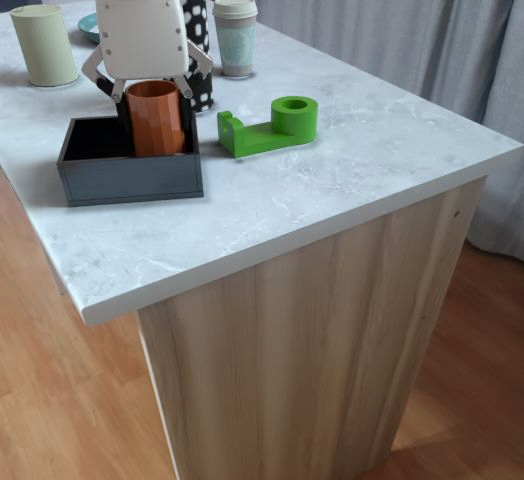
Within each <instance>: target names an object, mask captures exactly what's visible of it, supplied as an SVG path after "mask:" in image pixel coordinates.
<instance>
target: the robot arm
mask: <svg viewBox="0 0 524 480" xmlns="http://www.w3.org/2000/svg"><path fill="white" fill-rule="evenodd" d="M95 13H97V21H98V29H99V35H100V43H98V45H97V46H96V47H95V48H94V50H93V51H92V52H91V53H90V54H89V56H88V58H86V60H85V61H84V62H83V63H82V66H81V69H80V71H81V73H82V74H83V75H84V76H85V77H86V78H88V80H90V81H91V82H92V83H93V84H95V85H96V87H97V88H98V89H99V90H100V91H101V92H102V93H104V94H105V95H106V96H107V97H108V98H110V99H111V101H112V102H113V103H114V105H115V109H116V113H117V114H116V115H118V119H119V124H120V126H123V125H124V126H125V131H126V134H130V133H132V129H131V123H130V118H129V113H128V108H127V102H126V97H125V88H126V87H125V86H126V83H127V81H139V80H140V81H144V80H161V79H163V78H173V79H174V81H175V83H176V84H177V86H178V88H179V89H180V91H181V93H180V106H181V114H182V122H183V130H184V129H185V131H186V130H189V126H188V121H193V114H192V105H191V97H192V95H193V93H194V92H195V90H196V89H197V88H198V87H199V85H200V84H201V83H202V81H203V79H204V77H205V76H206V75H207V74H208V72H209V71H210V69H211V70H212V68H213V67H214V60H213V57H211V55H210V56H209V55H208V54H207V53H206V52H204V51H203V50H202V49H201V48H200V47H198V46H197V45H196V44H195V43H194V42H192V41H191V40H190V39H189V38H188V37H187V35H186V28H185V22H184V15H183V8H182V3H181V0H95ZM189 55H190V56H191V57H193V58H194V59H195V60H196V61H197V62H198V63H199V65H198V67H197V69H196V70H195V71H194V72H193V73H192V74H191V76H190V77H189V78H187V76H186V73H187V72H188V69H189ZM102 62H103V64H104V68H105V71H106V74H107V75H108V77H110V78H112V79H113V80H114V82H113V81H112V80H111V79H109V78H108V77H107V76H105V75H104V74H102V73H101V71H100V70H99V69H98V66H100V64H101V63H102Z"/></svg>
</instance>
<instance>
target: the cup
mask: <svg viewBox="0 0 524 480" xmlns="http://www.w3.org/2000/svg"><path fill="white" fill-rule="evenodd" d="M124 93H125V97H126V102H127V108H128V113H129V118H130V123H131V129H132V134H133V139H134V145H135V150H136V155H137V156H146V155H160V154H175V153H187V152H186V143H185V135H184V130H183V122H182V114H181V106H180V93H179V88H178V86H177V84H176V83H175V82H171V81H168V80H163V79H144V80H140V81H136V82H133V83H131V84H129V85H128V86H126V87H124Z"/></svg>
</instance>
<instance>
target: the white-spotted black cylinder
mask: <svg viewBox="0 0 524 480" xmlns="http://www.w3.org/2000/svg"><path fill="white" fill-rule="evenodd" d="M181 3H182V8H183V15H184V22H185V28H186V35H187V37H188V38H189V39H190V40H191V41H192V42H194V43H195V44H196V45H197V46H198V47H200V48H201V49H202V50H203V51H204V52H206V53H207V54H208V55H209V56H210V57H211V51H210V50H211V49H210V38H209V36H210V35H209V24H208V11H207V10H208V8H207V0H181ZM198 65H199V63H198V62H197V61H196V60H195V59H194V58H193V57H191V56H190V55H189V69H188V72H187V73H186V76H187V78H189V77H190V76H191V74H192V73H193V72H194V71H195V70H196V69H197V67H198ZM162 80H168V81H171V82H175V81H174V79H173V78H162ZM179 93H181V91H180V89H179ZM214 104H215V103H214V89H213V80H212V68H211V69H210V71H209V72H208V74H207V75H206V76H205V77H204V79H203V81H202V83H201V84H200V85H199V87H198V88H197V89H196V90H195V92H194V93H193V95H192V97H191V105H192V111H194V110H195V113H200V112H205V111H206V110H209V109H210V108H212V107H213V106H214Z"/></svg>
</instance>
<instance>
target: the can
mask: <svg viewBox="0 0 524 480" xmlns="http://www.w3.org/2000/svg"><path fill="white" fill-rule="evenodd" d="M9 16H10V18H11V22H12V24H13V27H14V31H15V34H16V37H17V41H18V44H19V47H20V50H21V53H22V56H23V59H24V64H25V66H26V71H27V74H28V76H29V82H30V83H31V85H34V86H37V87H58V86H64V85H68V84H70V83H73V82H75V81H76V80H78V78H79V73H78V70H77V67H76V63H75V60H74V54H73V52H72V47H71V43H70V40H69V35H68V31H67V27H66V23H65V18H64V14H63V7H61V6H60V5H56V4H50V3H49V4H47V3H46V4H45V3H44V4H43V3H42V4H30V5H24V6H19V7H16V8H13V9H11V10H10V11H9Z"/></svg>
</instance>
